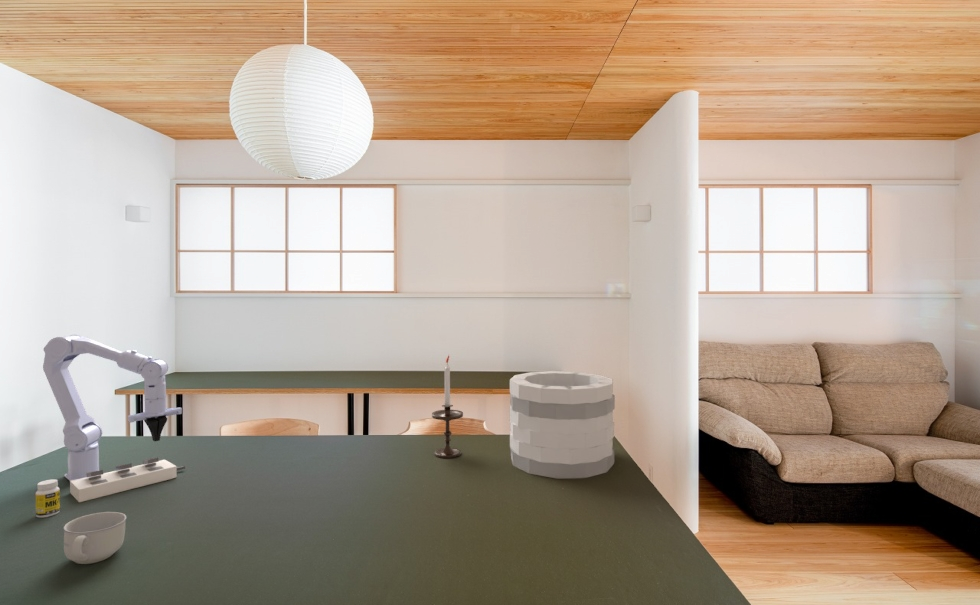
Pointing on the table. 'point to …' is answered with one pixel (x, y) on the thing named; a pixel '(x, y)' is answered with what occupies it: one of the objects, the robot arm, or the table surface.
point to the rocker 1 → (94, 473)
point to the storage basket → (562, 423)
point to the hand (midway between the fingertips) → (156, 440)
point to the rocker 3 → (150, 461)
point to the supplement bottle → (47, 498)
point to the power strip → (122, 480)
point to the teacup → (94, 537)
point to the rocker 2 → (124, 467)
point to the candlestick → (447, 419)
